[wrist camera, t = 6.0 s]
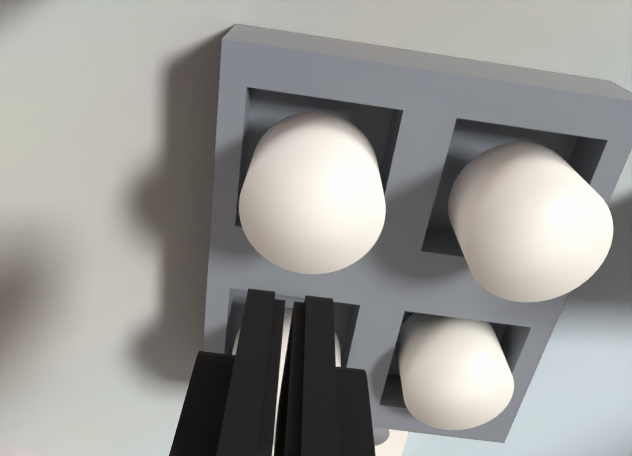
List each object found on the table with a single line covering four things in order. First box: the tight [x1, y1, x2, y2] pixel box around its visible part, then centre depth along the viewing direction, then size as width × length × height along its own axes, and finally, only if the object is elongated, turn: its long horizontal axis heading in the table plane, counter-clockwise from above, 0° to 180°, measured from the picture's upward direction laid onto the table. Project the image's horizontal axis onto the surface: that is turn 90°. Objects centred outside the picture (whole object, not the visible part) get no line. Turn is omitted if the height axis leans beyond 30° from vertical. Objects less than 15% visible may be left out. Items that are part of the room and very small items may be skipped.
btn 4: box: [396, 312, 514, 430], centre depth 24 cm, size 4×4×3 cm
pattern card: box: [272, 427, 409, 456], centre depth 30 cm, size 7×6×1 cm
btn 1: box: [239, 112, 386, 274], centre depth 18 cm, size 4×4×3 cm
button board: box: [203, 24, 632, 443], centre depth 23 cm, size 14×16×3 cm
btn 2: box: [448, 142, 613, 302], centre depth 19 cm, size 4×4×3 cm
